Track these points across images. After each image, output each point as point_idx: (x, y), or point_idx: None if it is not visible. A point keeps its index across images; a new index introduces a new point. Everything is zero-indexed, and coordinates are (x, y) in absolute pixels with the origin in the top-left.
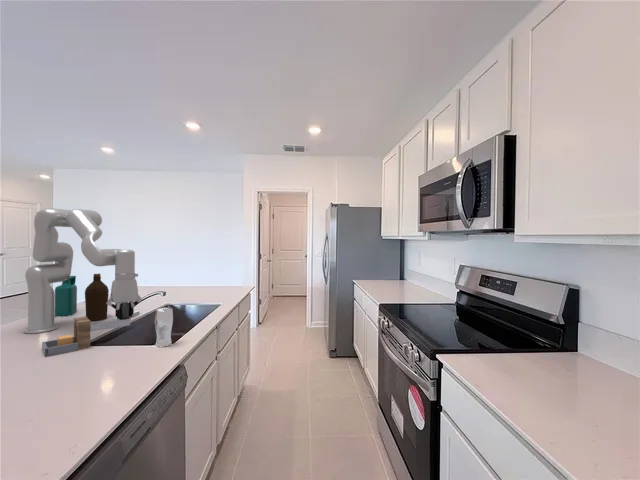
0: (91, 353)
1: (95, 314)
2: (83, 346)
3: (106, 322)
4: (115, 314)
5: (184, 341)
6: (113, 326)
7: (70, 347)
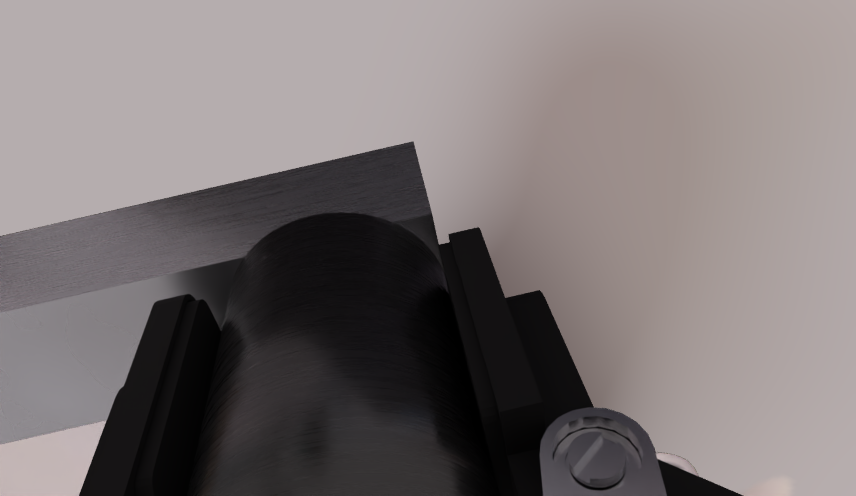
0: (78, 490)
1: None
2: None
3: (9, 439)
4: (109, 416)
5: (786, 482)
6: None
7: None
